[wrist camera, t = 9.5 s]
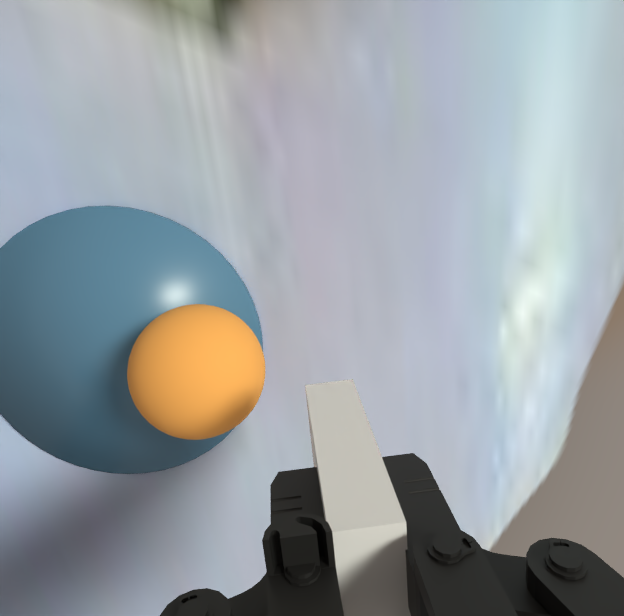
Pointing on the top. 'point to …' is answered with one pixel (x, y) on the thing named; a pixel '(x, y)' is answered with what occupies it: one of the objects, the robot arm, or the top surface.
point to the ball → (196, 371)
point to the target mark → (100, 330)
